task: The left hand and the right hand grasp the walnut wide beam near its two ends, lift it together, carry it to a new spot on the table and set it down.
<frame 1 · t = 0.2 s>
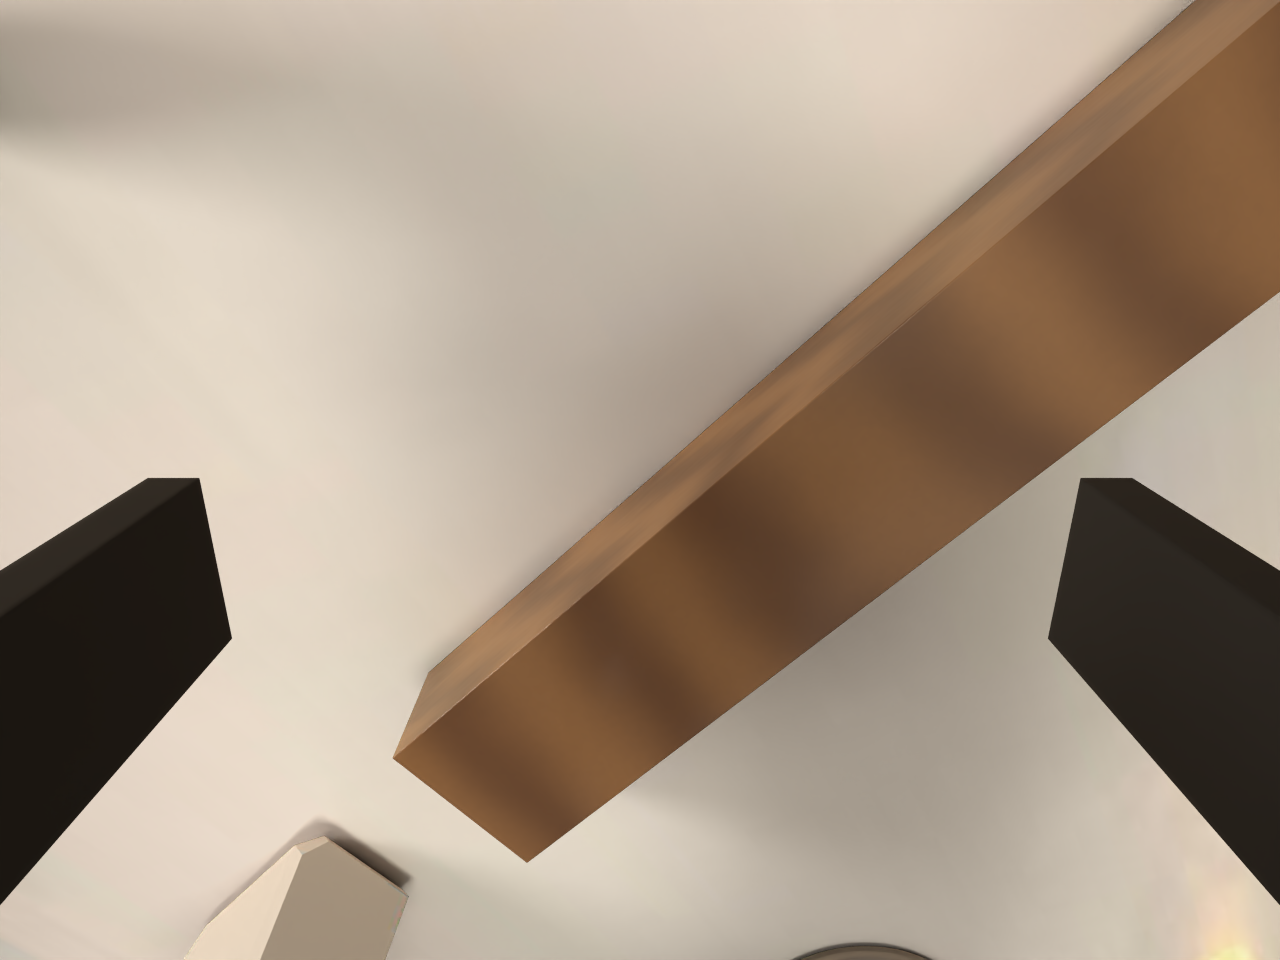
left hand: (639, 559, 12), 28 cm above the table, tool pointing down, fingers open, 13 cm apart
electronic device: (308, 900, 51), on the table
wide beam: (902, 375, 40), on the table
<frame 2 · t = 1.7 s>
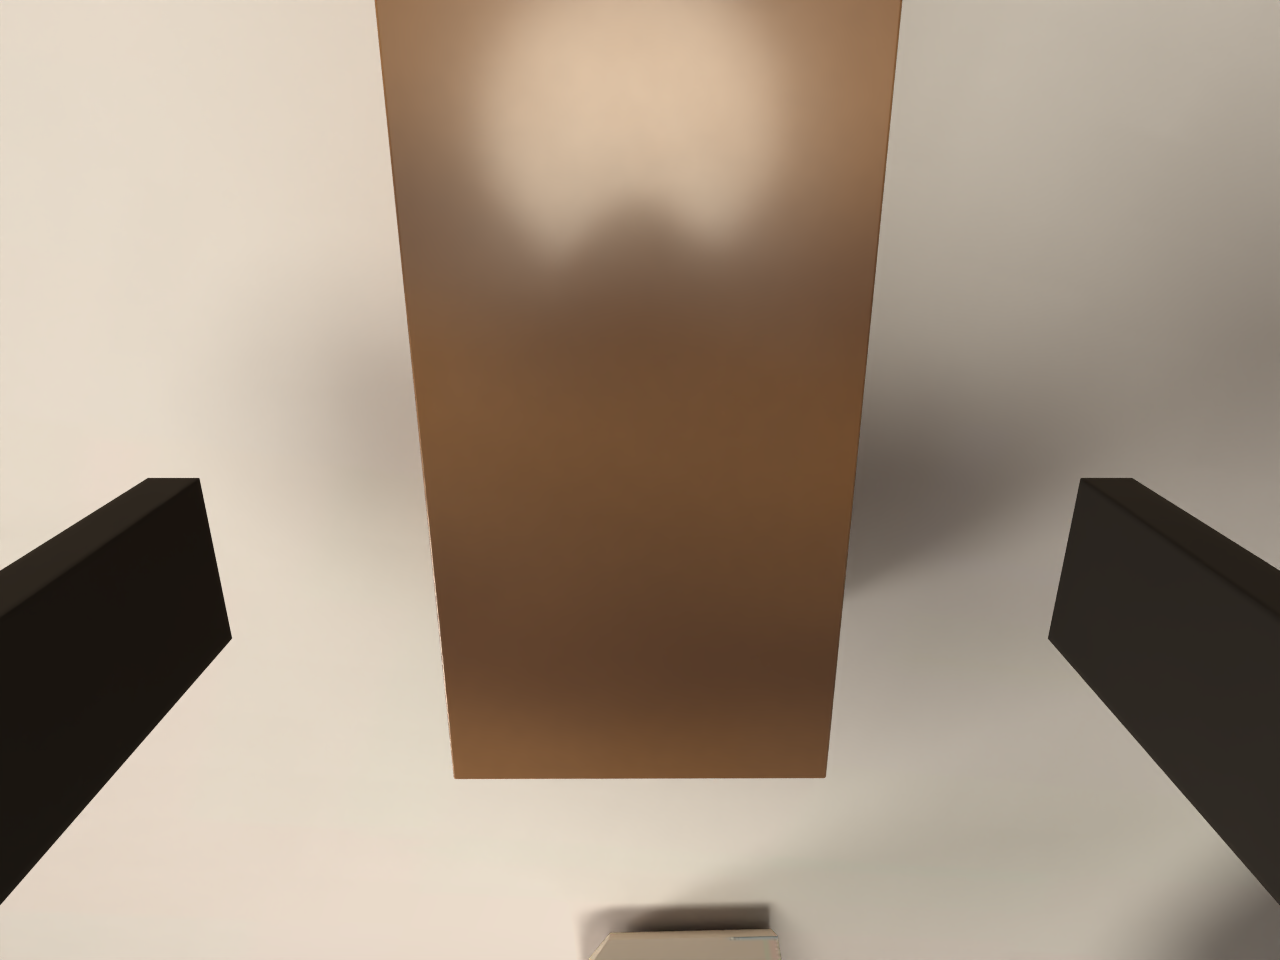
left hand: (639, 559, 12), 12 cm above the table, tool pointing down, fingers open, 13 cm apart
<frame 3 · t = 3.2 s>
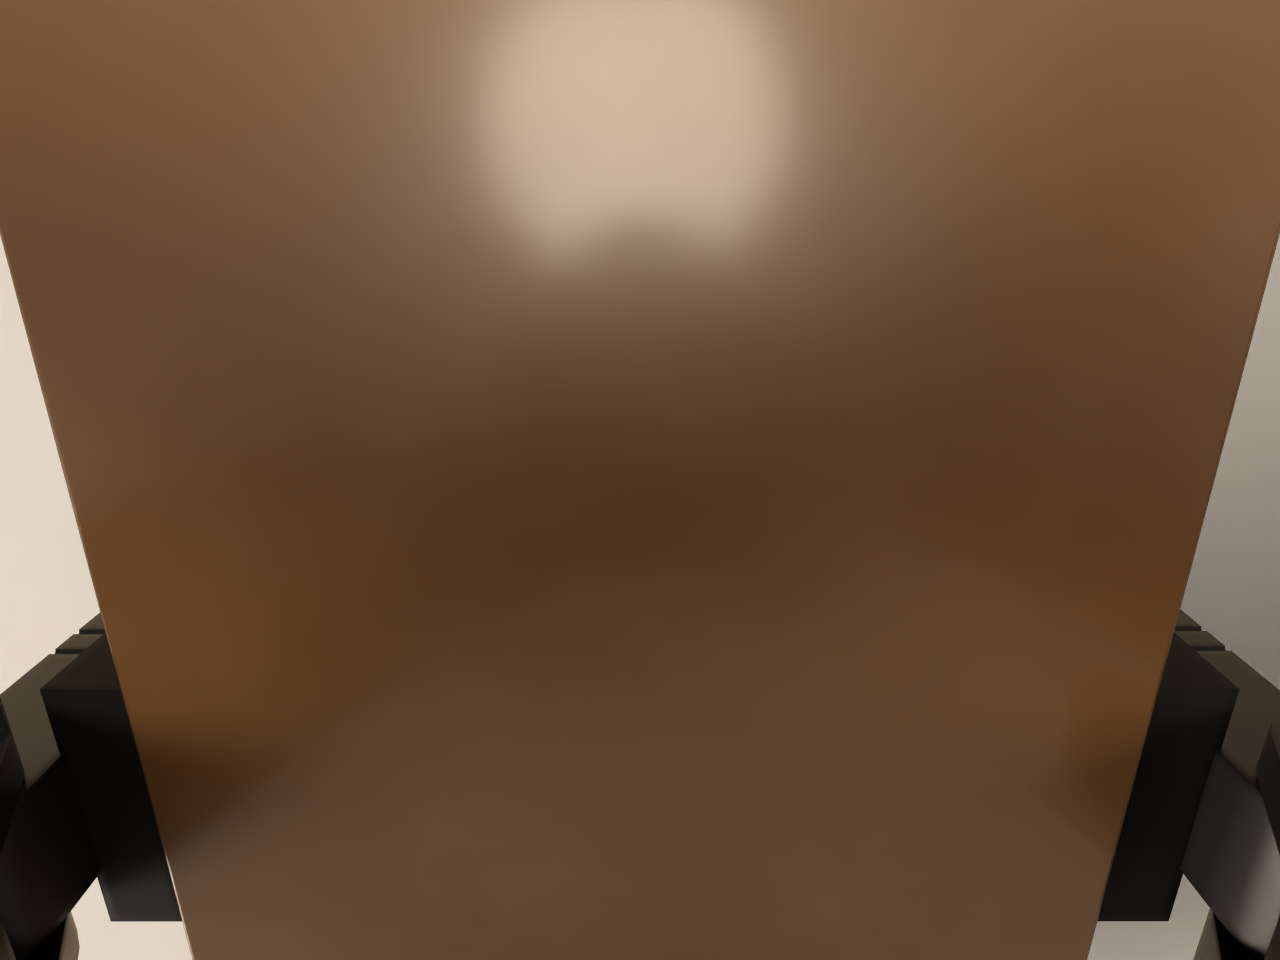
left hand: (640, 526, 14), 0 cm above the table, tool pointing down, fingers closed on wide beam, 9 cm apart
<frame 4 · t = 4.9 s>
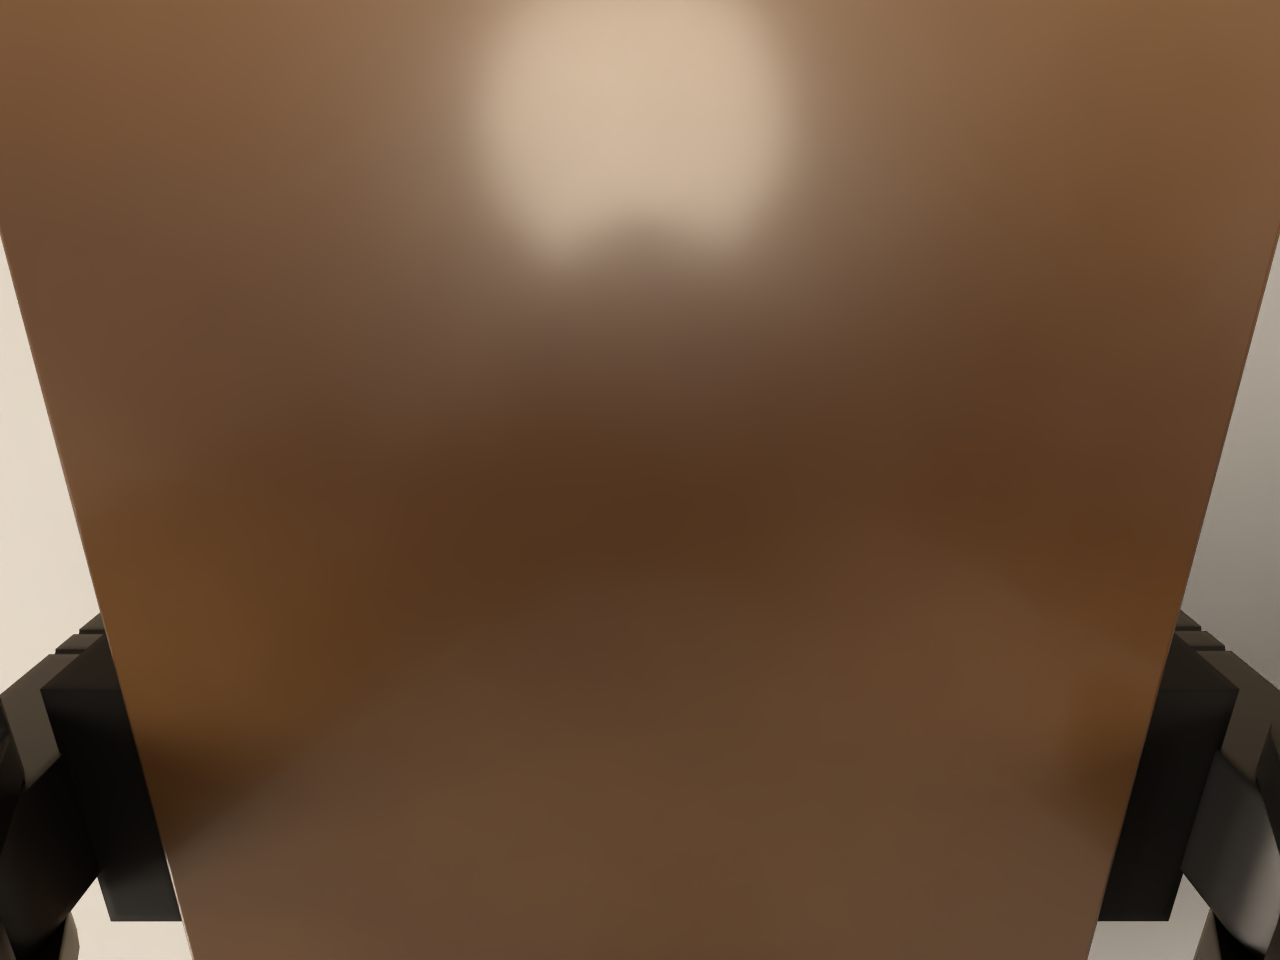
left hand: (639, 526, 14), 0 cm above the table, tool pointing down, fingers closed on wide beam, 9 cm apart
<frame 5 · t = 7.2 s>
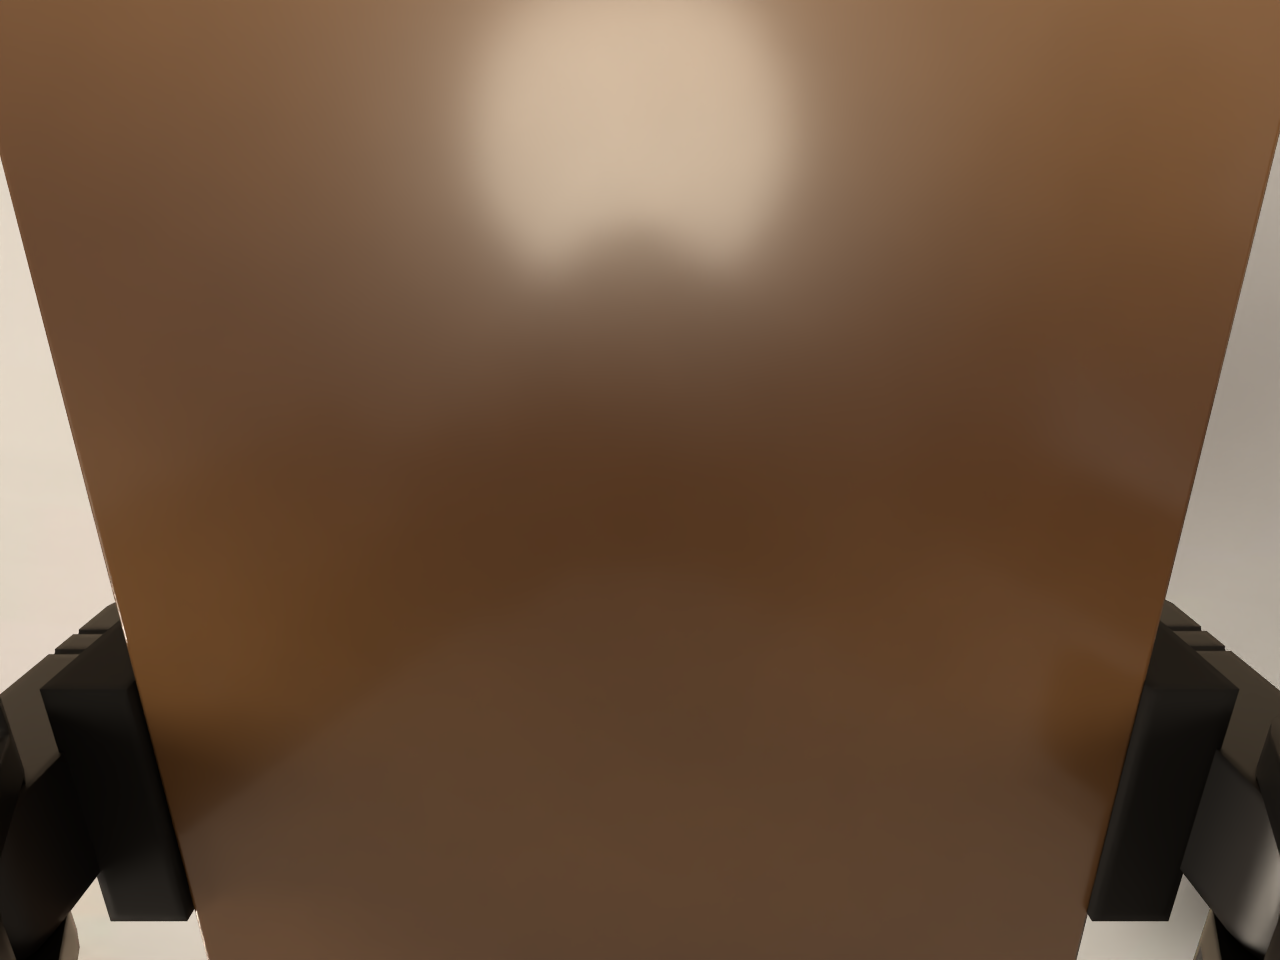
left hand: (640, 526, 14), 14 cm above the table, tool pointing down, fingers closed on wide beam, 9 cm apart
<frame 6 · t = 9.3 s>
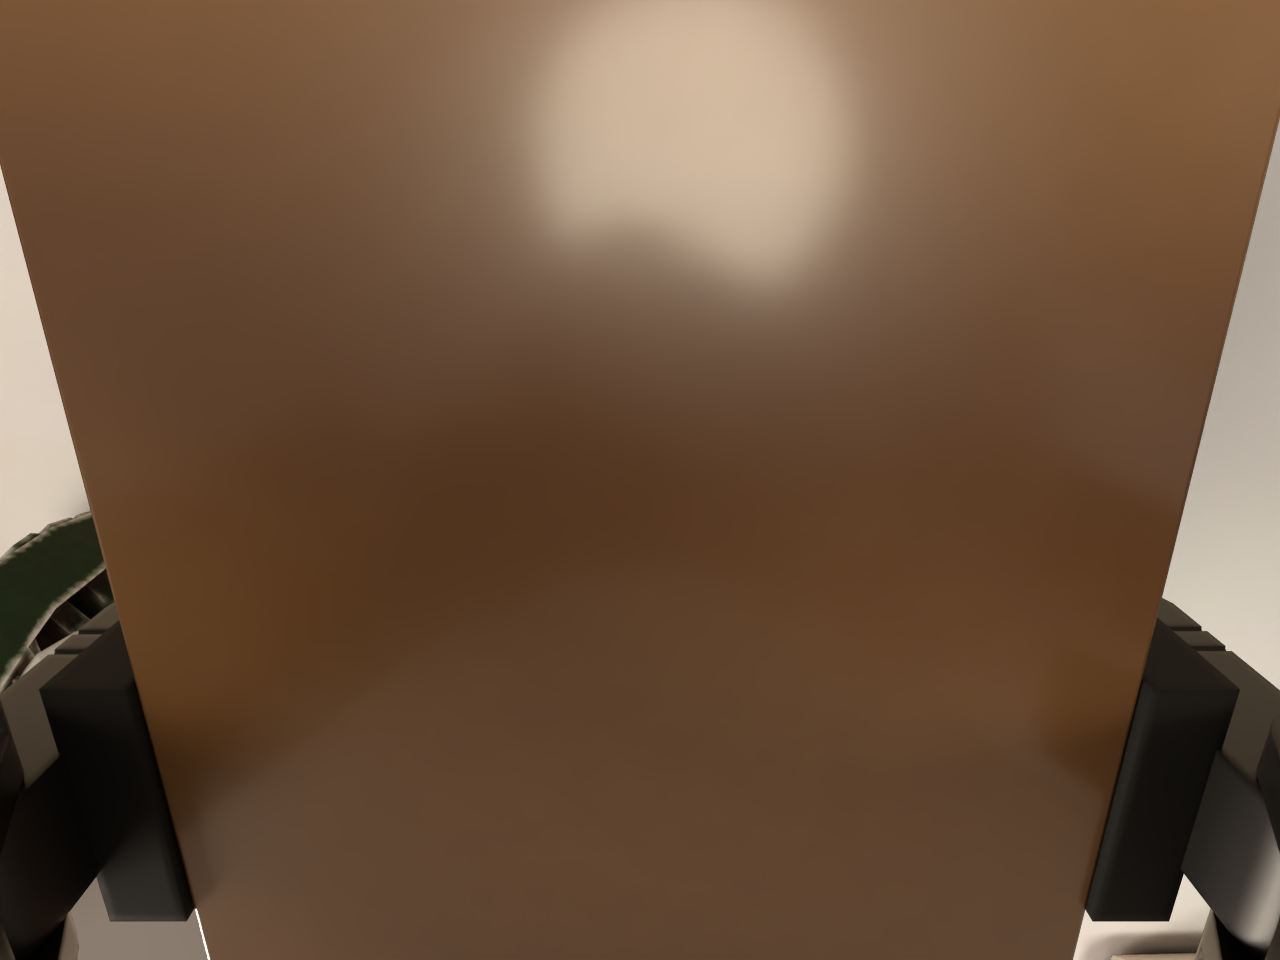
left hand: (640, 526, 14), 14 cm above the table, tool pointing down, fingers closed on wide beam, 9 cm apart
grenade: (157, 551, 30), on the table
when the left hand's fingers open (2 cm above the table, at t = 11.3 s): wide beam drops 2 cm, on the table.
when the right hand's fingers open (2 cm above the table, at t = 11.3 s): wide beam drops 2 cm, on the table.
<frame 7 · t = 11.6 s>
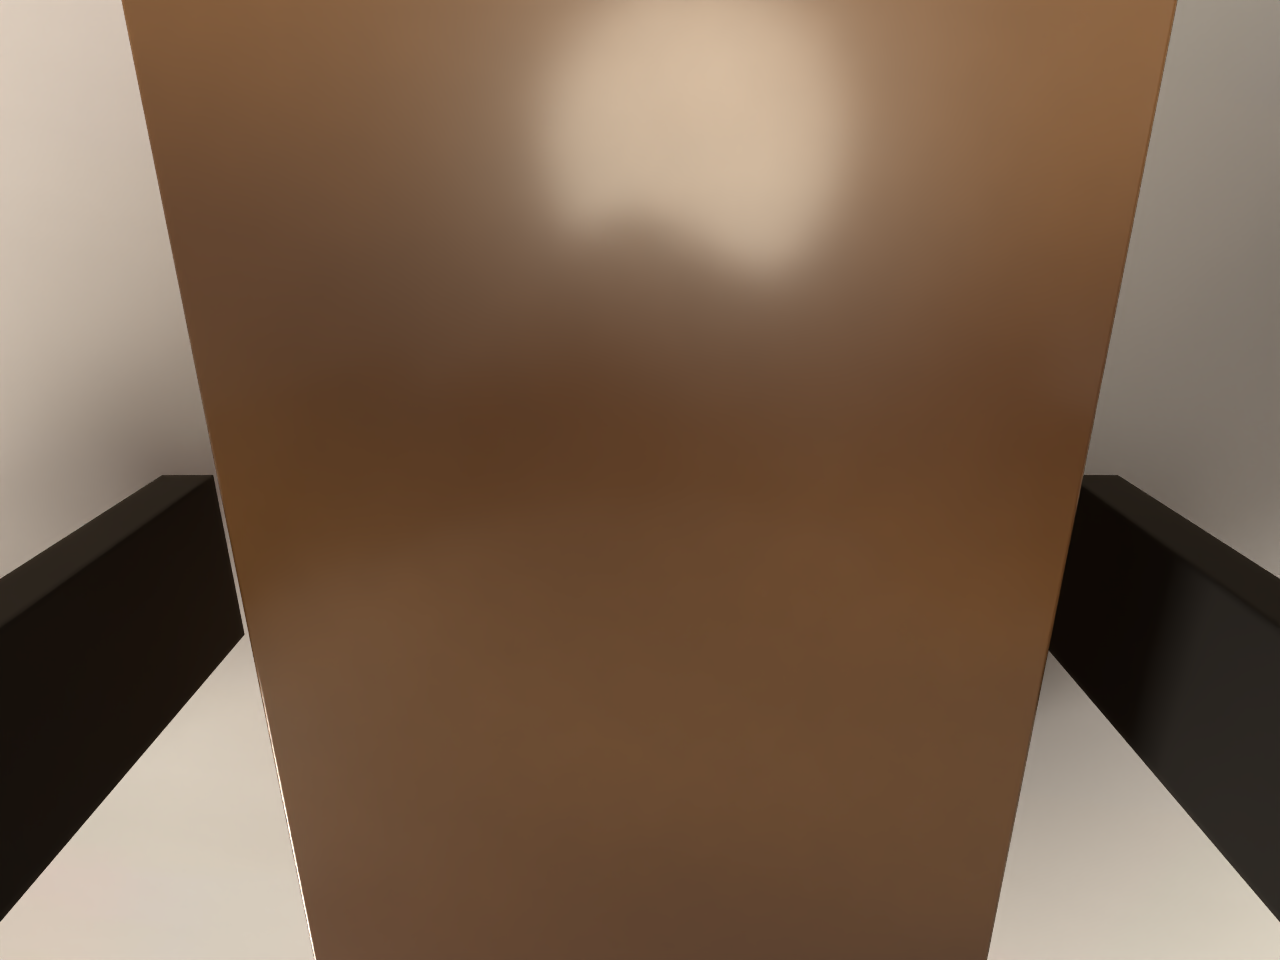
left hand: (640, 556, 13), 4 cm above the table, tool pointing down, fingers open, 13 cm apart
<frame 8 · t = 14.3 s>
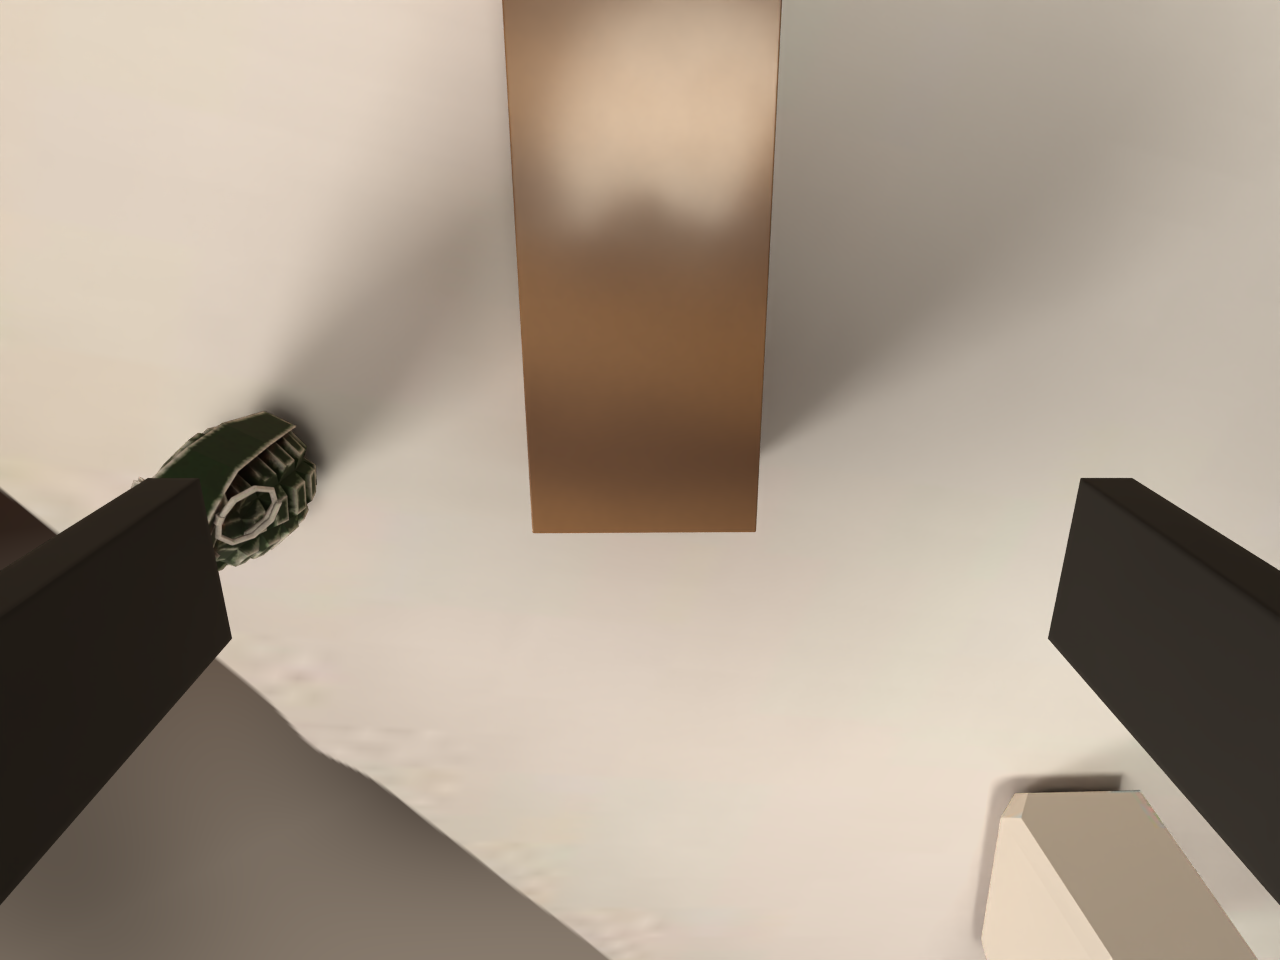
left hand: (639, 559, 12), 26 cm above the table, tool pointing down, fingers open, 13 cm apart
grenade: (275, 457, 39), on the table
electronic device: (1045, 859, 48), on the table
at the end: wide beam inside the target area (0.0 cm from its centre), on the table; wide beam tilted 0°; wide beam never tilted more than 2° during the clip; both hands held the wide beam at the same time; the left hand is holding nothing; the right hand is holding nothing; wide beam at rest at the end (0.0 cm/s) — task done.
